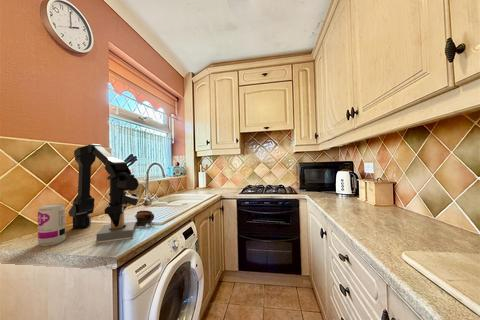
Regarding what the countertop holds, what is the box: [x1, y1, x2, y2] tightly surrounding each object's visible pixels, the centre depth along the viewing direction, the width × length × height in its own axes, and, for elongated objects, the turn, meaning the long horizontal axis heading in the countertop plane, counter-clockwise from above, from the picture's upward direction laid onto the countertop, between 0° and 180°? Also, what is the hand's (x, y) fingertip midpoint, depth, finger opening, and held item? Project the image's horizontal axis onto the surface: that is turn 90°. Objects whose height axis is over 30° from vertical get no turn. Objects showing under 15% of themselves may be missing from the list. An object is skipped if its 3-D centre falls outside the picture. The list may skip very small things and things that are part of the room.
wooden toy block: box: [110, 211, 125, 230], centre depth 92 cm, size 4×4×7 cm
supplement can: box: [37, 203, 67, 247], centre depth 85 cm, size 8×8×15 cm
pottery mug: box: [134, 209, 155, 228], centre depth 108 cm, size 12×10×8 cm
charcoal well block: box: [95, 221, 137, 244], centre depth 92 cm, size 13×13×4 cm
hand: (117, 225), depth 92 cm, fingers closed on wooden toy block, 4 cm apart
